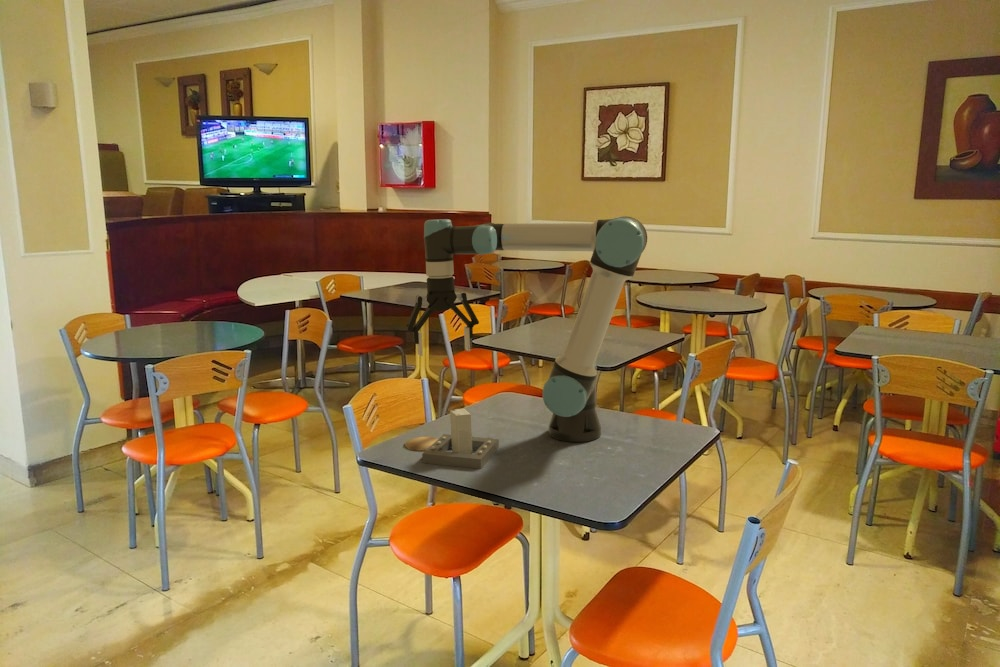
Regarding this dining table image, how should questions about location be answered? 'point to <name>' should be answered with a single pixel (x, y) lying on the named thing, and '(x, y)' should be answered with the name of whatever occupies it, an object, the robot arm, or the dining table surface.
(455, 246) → the robot arm
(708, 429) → the dining table surface
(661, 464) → the dining table surface
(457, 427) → the skincare box
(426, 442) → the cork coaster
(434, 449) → the studded square frame
